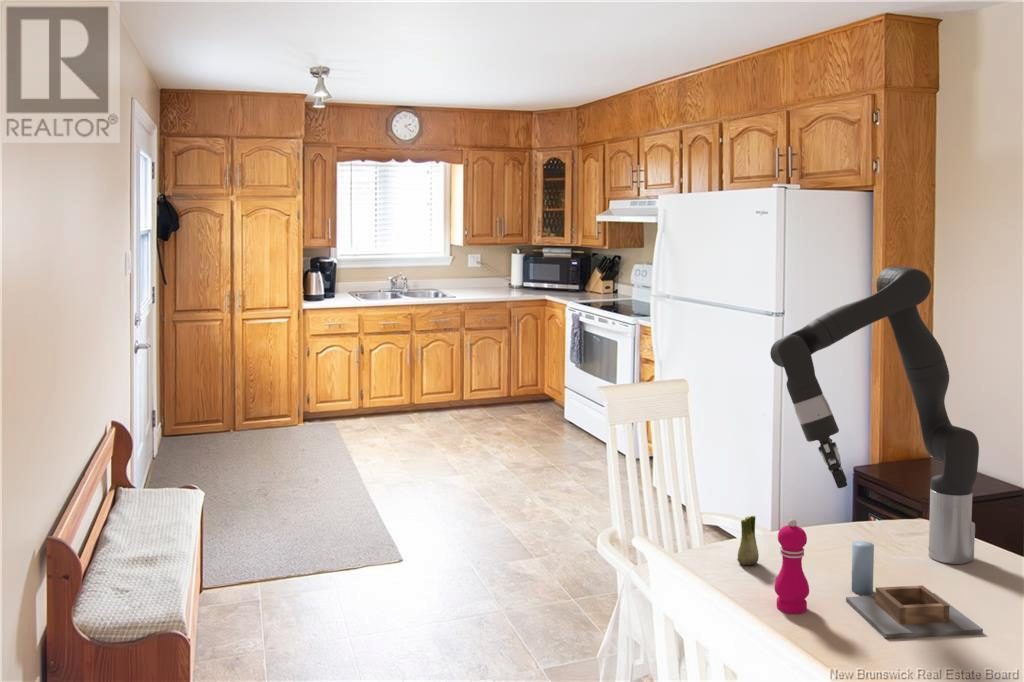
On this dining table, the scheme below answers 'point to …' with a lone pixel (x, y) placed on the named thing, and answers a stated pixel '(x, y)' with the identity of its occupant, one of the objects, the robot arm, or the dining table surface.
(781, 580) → the pepper mill
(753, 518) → the fennel bulb
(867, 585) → the post
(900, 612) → the wooden frame tray
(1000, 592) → the dining table surface
